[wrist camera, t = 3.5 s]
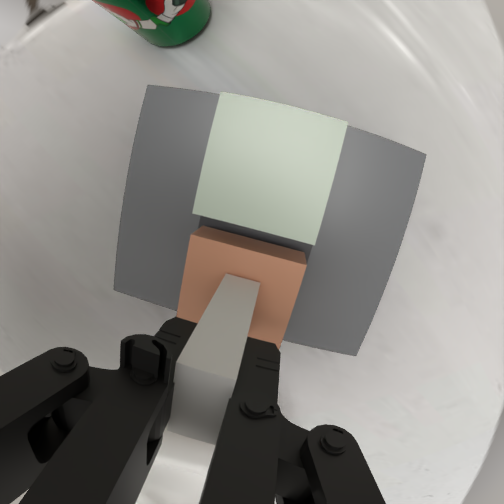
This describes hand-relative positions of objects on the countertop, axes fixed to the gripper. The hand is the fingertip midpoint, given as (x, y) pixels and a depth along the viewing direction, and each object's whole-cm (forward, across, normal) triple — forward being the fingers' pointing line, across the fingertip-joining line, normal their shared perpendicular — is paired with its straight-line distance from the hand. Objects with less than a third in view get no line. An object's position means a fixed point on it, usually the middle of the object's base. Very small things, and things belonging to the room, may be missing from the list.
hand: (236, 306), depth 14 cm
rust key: (+2, 0, 0) cm, 2 cm away
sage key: (+2, 0, +6) cm, 6 cm away
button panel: (+7, 0, +3) cm, 8 cm away
